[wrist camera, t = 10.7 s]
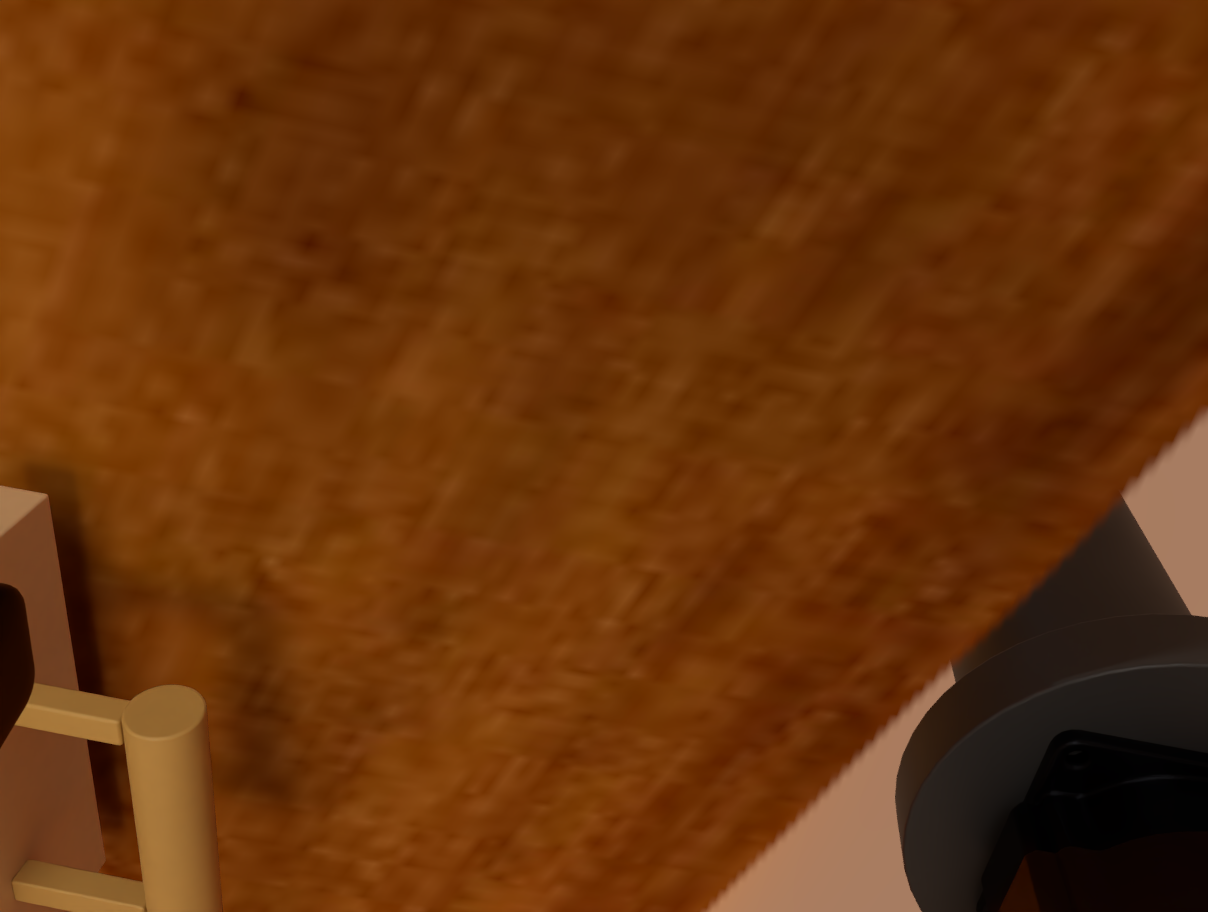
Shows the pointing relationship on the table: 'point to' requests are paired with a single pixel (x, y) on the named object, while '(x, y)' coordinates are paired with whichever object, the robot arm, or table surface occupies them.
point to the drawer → (63, 770)
